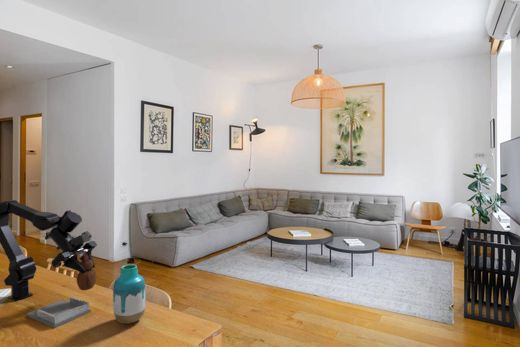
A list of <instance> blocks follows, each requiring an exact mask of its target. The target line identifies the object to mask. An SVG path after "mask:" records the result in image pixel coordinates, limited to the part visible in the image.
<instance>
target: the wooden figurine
mask: <svg viewBox="0 0 520 347" xmlns="http://www.w3.org/2000/svg"><path fill="white" fill-rule="evenodd" d="M79 262H80V263H81V265H82V266H83V267H84V269H85V273H82V272H79V271H78V273H77V275H76V283H77V286H78V288H79V290H81V291H89V290H91V289H93V288H94V286H95V284H96V282H97V281H96V280H97V273H96V270H95V269H94V268H92V267H93V262H92V260H89V258H88V255H87V254H86V252H84V259H83V261H79Z"/></svg>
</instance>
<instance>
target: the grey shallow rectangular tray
mask: <svg viewBox="0 0 520 347" xmlns="http://www.w3.org/2000/svg"><path fill="white" fill-rule="evenodd" d="M91 312H92V310H91V308H90V303H89V302H87V301H85V300H82V299H79V298H77V297H73V296H71V297H70V296H69V300H66V299H61V300H59V301H55V302H52V303H51V304H48V305H45V306H43V307H40V308H38V309H35V310H33V311H30V312H27V313H26V317H29V318H30V319H31V320H32V319H33V320H35V321H38V322H39V323H42V324H45V325H46V326H49V327H51V328H53V329H56V328H58V327H61V326H63V325H64V324H67V323H69V322H71V321H74V320H76V319H78V318H80V317H83V316H85V315H88V314H90V313H91Z"/></svg>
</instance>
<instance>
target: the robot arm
mask: <svg viewBox="0 0 520 347" xmlns="http://www.w3.org/2000/svg"><path fill="white" fill-rule="evenodd" d="M10 214H13V215H15V216H17V217H19V218H21V219H23V220H27V221H28V222H31V224H32V226H33V227H34V228H36V229H37V230H38V231H42V232H43V231H47V232H45V237H44V240H47V241H48V240H50V239H51V240H52V241H53V242H54V243H55V245H56V246H57V247H56V250H57V251H60V250H61V252H59V253H57V255H55V257H54V258H53V259H52V260H51V265H52V266H51V267H53V268H54V269H56V268H60V266H61V267H63V268H69V269H71V270H74V271H77V272H78V273H79V272H82V273H85V269H84V267H83V266H82V265H81V263H80V262H81V261H83V259H84V252H86V254H87V255H88V258H89V260H92V262H93V267H92V268H93V269H94V268H95V267H96V265H95V262H94V258H93V256H92V252H93V250H94V249H95V248H96V247H97V246H98V244H97V243H96V241H95V240H91V238H92V233H91V232H89V230H86V231H84V232H82V233H81V235H78V236H76V235H72V234H70V233H72V232H74V230H76V228H77V227H78V226H79V225H80V223H82V222H83V218H82V217H81V215H80V214H78V213H76V212H73V211H71V209H69V210H66V211H65V212H64V213H63V215H61V216H59V215H58V214H57V213H54V212H50V211H49V212H48V211H40V210H38V209H35V208H33V207H30V206H28V205H26V204H24V203H21V202H20V201H17V200H15V199H11V200H5V201H4V200H3V202H1V203H0V245H1V248H2V249H3V250H4V251H3V252H4V253H5V256H6V257H7V259H8V261H9V263H8V269H7V270H8V273H9V274H8V275H7V276H6V277H5V279H4V280H3V282H4V285H5V286H8V287H10V288H11V289H10V290H11V295H8V296H7V299H9V300H12V301H15V302H17V301H20V300H23V299H25V298H29V297H31V296H33V295H34V293H33V292H30V288H29V283H30V282H29V281H30V280H33V279H34V277H35V274H36V271H37V267H36V266H37V263H36V262H35V261H34V257H32V256H29V257H27V255H25V254H24V252H23V251H22V249H21V247H20V245H19V243H18V242H17V239H16V237H15V235H14V233H13V231H12V229H11V227H10V225H9V221H10ZM48 230H50V231H48ZM78 255H79V256H80V258H79V259H78ZM79 260H81V261H79ZM62 263H63V264H62Z"/></svg>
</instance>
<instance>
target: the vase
mask: <svg viewBox="0 0 520 347" xmlns="http://www.w3.org/2000/svg"><path fill="white" fill-rule="evenodd" d="M119 271H120V273H119V277H117V278H116V279H115V280H114V282H113V286H112V307H113V314H114V317H115V320H117V322H119V323H121V324H131V323H135V322H137V321H139V320H140V319H141V318H142V317H143V316H144V314H145V312H146V306H147V305H146V304H147V301H146V299H147V295H146V294H147V293H146V282H145V279H144V277H143V275H140V274H139V273H138V266H137V264H133V263H132V264H125V265H121V267H120V269H119Z"/></svg>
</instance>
